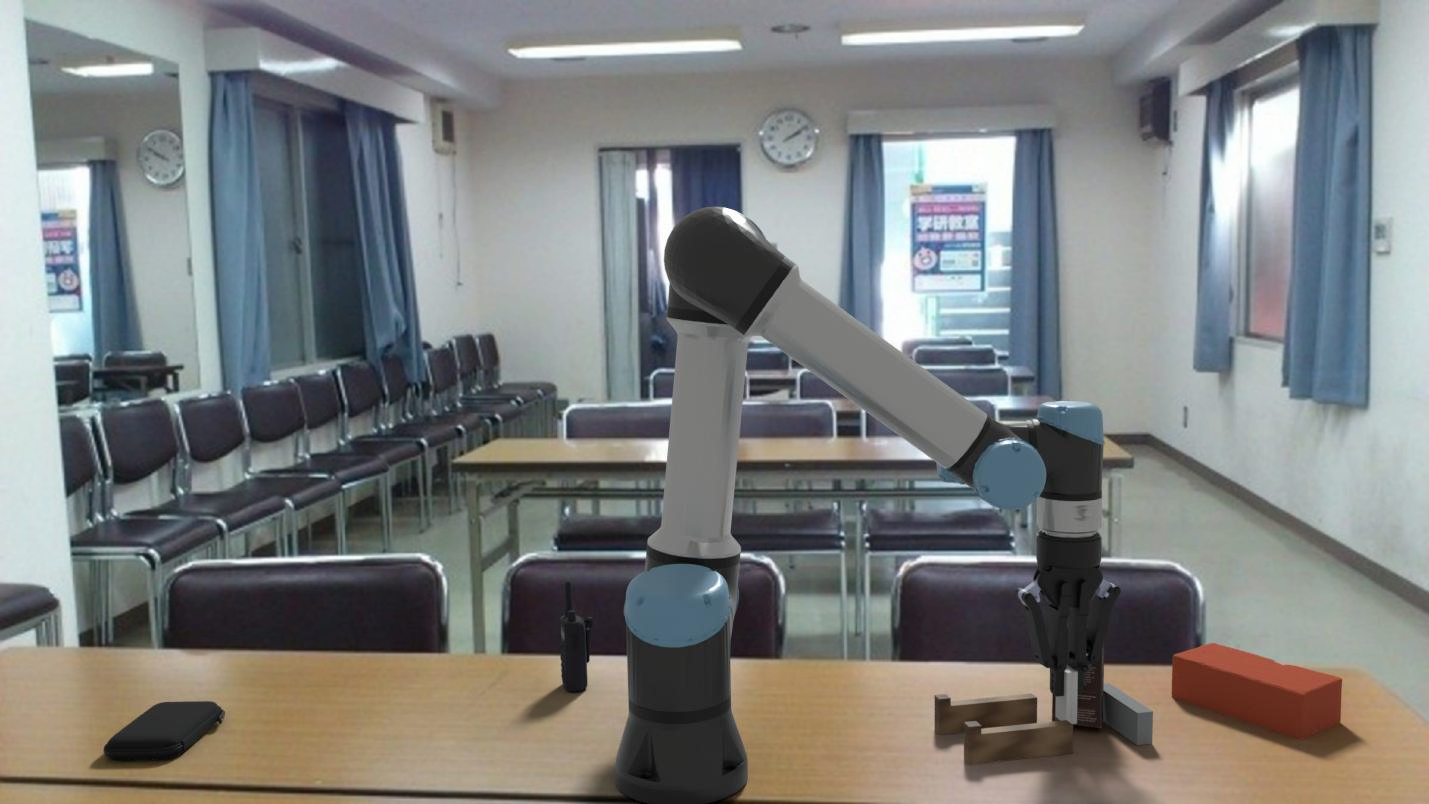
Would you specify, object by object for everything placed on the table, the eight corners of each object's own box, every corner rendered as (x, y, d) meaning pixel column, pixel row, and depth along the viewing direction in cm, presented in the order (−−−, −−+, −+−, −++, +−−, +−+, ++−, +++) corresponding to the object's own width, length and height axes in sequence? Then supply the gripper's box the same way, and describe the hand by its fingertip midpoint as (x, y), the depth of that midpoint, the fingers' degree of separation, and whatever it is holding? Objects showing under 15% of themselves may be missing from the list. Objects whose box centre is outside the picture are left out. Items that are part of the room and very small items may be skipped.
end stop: (1137, 745, 141) (1137, 713, 140) (1094, 714, 150) (1094, 684, 150) (1152, 743, 141) (1152, 711, 141) (1108, 713, 151) (1109, 683, 150)
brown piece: (969, 764, 136) (969, 726, 136) (934, 729, 147) (934, 694, 146) (1072, 753, 139) (1073, 716, 138) (1031, 720, 149) (1031, 685, 149)
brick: (1170, 698, 156) (1171, 654, 156) (1210, 684, 161) (1211, 641, 161) (1301, 742, 141) (1303, 693, 141) (1341, 724, 146) (1343, 678, 146)
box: (1103, 721, 148) (1105, 626, 148) (1100, 730, 144) (1103, 631, 144) (1053, 716, 150) (1056, 621, 151) (1049, 724, 146) (1052, 626, 147)
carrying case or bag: (185, 765, 141) (237, 718, 156) (183, 741, 141) (235, 696, 156) (97, 766, 142) (157, 719, 156) (95, 742, 141) (155, 697, 156)
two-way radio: (559, 682, 167) (555, 578, 165) (590, 678, 168) (587, 575, 166) (566, 695, 161) (562, 588, 160) (598, 691, 163) (595, 585, 161)
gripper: (1033, 540, 137) (1030, 736, 139) (1135, 534, 139) (1131, 726, 142) (1004, 527, 144) (1003, 713, 146) (1102, 521, 146) (1099, 704, 149)
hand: (1066, 719), depth 144 cm, fingers closed
